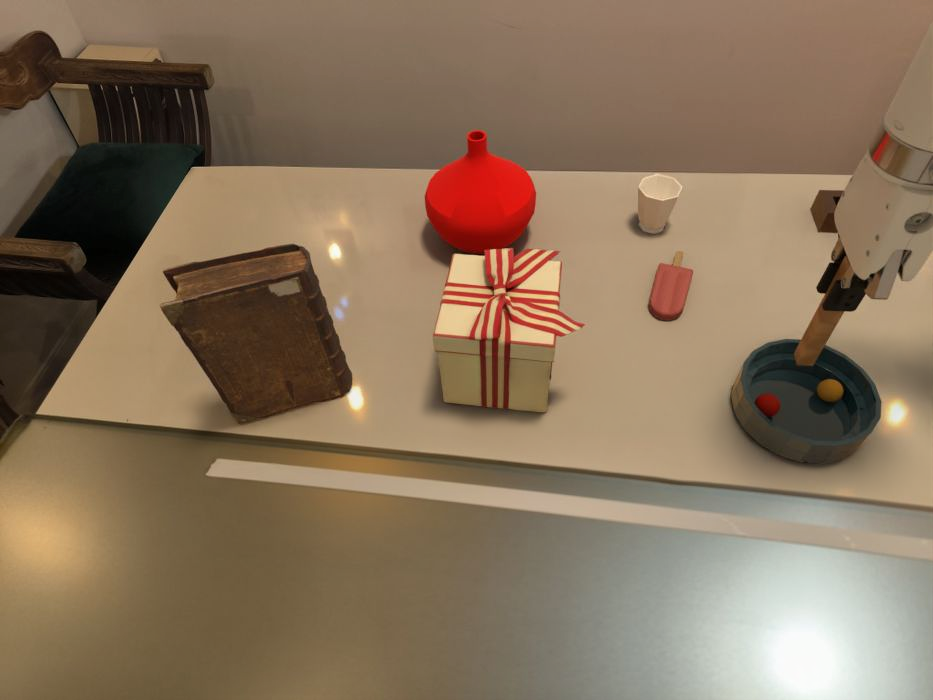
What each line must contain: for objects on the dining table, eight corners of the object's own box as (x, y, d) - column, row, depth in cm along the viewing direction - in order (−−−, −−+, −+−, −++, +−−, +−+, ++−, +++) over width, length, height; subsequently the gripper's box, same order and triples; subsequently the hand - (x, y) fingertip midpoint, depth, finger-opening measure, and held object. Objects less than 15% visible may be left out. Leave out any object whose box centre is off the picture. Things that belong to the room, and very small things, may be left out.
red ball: (763, 385, 79) (765, 396, 77) (784, 397, 79) (786, 409, 76) (748, 401, 81) (750, 412, 78) (768, 413, 80) (770, 425, 78)
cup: (632, 238, 103) (639, 200, 96) (628, 201, 109) (635, 162, 102) (674, 239, 102) (685, 200, 96) (668, 201, 108) (678, 162, 102)
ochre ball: (846, 404, 79) (851, 384, 77) (824, 407, 78) (829, 387, 77) (830, 393, 81) (835, 373, 80) (809, 396, 81) (813, 376, 80)
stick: (809, 353, 73) (864, 255, 60) (813, 365, 72) (870, 268, 59) (793, 353, 73) (845, 255, 61) (796, 365, 72) (850, 268, 59)
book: (353, 367, 89) (308, 238, 70) (356, 407, 85) (308, 281, 65) (239, 387, 88) (161, 261, 69) (236, 428, 84) (151, 306, 64)
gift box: (578, 415, 82) (590, 333, 68) (442, 412, 83) (428, 332, 70) (572, 320, 92) (582, 233, 79) (452, 319, 94) (441, 233, 80)
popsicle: (698, 251, 98) (682, 317, 89) (695, 258, 99) (680, 324, 90) (664, 244, 99) (646, 309, 91) (662, 251, 100) (644, 316, 92)
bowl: (844, 364, 84) (860, 342, 80) (879, 470, 74) (899, 450, 70) (722, 358, 86) (732, 336, 82) (740, 460, 76) (753, 440, 72)
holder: (847, 209, 104) (857, 190, 101) (857, 233, 100) (868, 213, 97) (810, 208, 105) (819, 189, 101) (818, 232, 101) (828, 212, 98)
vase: (433, 202, 112) (421, 105, 97) (533, 199, 111) (536, 101, 96) (425, 271, 101) (410, 174, 86) (536, 270, 99) (540, 170, 84)
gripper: (1016, 210, 45) (896, 361, 59) (939, 96, 54) (852, 250, 69) (905, 209, 46) (814, 357, 60) (849, 97, 55) (782, 248, 70)
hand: (834, 299), depth 64 cm, fingers closed on stick, 1 cm apart
